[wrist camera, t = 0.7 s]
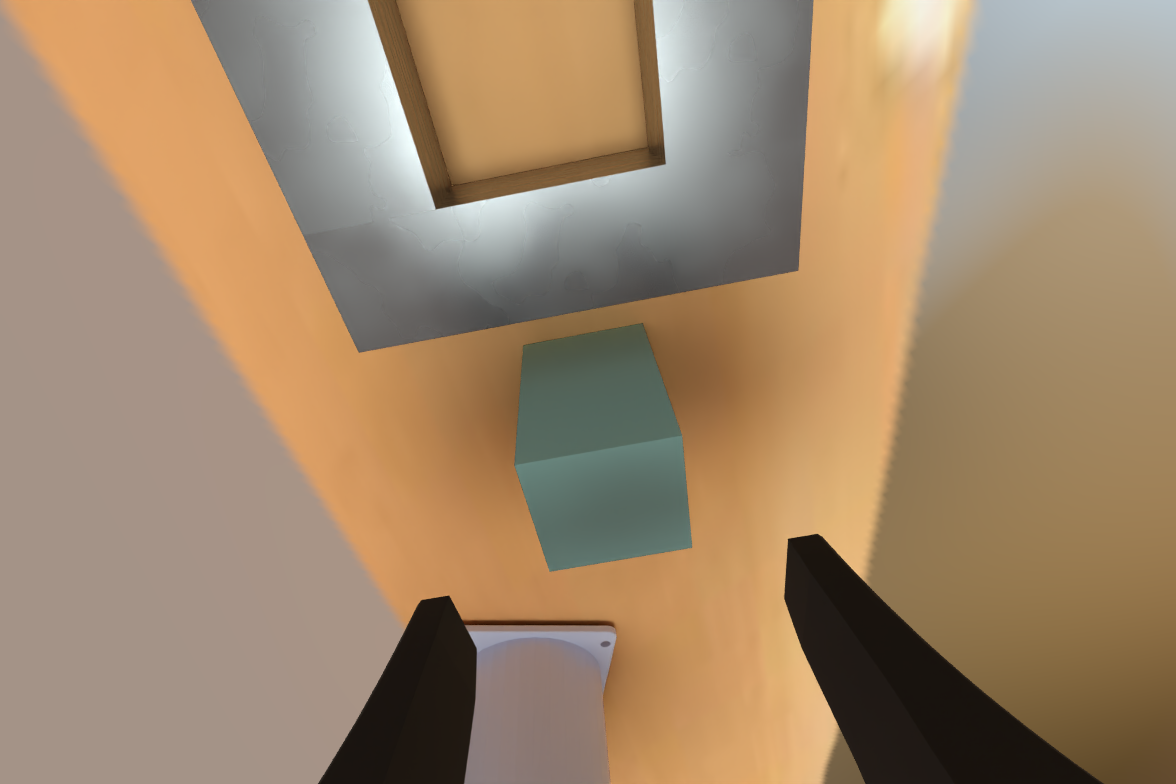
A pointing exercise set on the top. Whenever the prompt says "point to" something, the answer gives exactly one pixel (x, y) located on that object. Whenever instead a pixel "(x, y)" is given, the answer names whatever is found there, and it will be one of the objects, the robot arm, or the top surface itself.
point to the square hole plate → (533, 198)
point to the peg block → (600, 450)
